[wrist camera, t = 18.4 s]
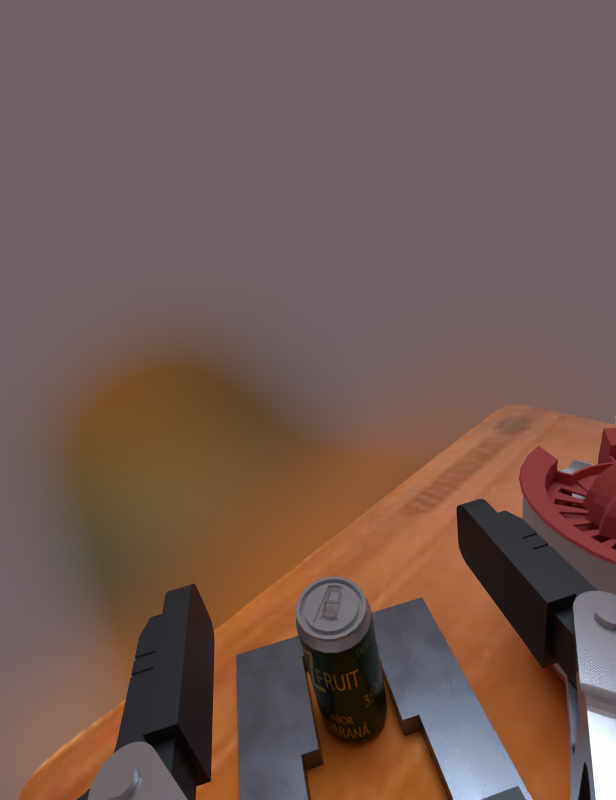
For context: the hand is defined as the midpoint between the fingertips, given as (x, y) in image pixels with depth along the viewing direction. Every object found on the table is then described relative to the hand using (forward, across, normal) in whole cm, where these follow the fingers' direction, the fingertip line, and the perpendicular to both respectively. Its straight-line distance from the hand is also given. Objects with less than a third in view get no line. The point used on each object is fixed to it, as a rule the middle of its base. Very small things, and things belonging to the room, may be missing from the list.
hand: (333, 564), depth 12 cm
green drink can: (+11, 0, +27) cm, 29 cm away
